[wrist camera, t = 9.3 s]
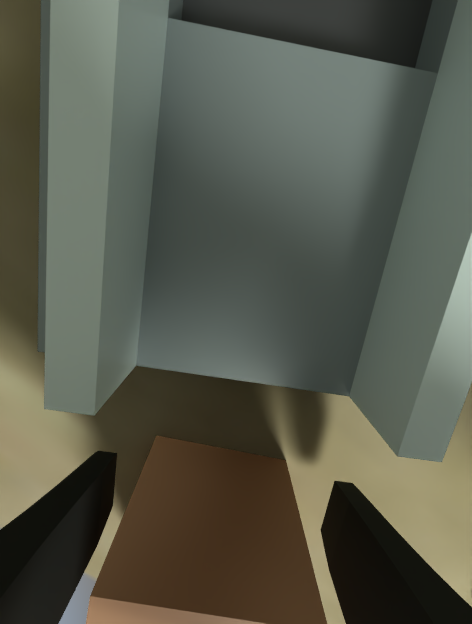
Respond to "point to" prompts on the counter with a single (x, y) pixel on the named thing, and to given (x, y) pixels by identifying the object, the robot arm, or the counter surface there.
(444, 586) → the robot arm
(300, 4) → the channel
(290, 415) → the counter surface
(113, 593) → the cube
